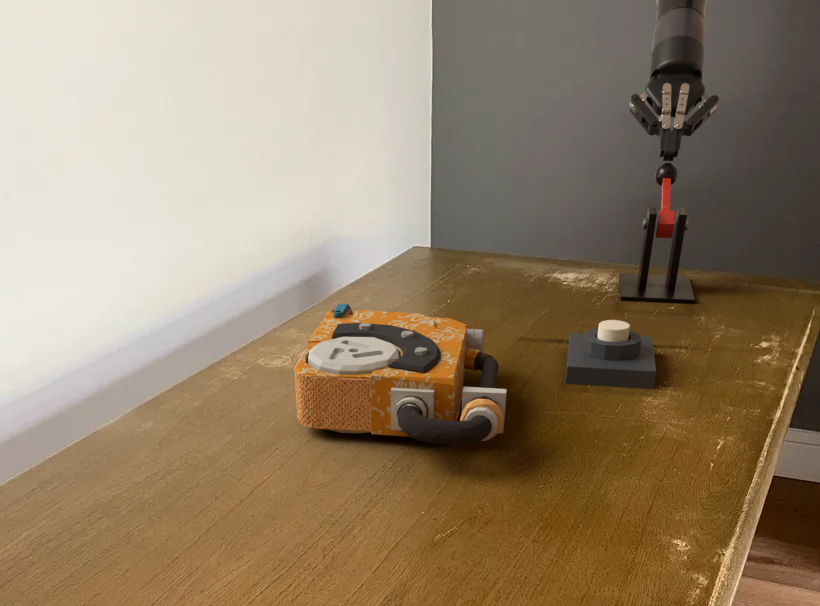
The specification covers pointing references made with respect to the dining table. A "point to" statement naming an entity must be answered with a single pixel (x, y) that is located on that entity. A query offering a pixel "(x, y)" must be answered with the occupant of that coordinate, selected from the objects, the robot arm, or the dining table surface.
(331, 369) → the device
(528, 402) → the dining table surface
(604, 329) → the stop button
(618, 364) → the base block
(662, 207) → the red lever
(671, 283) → the lever bracket
